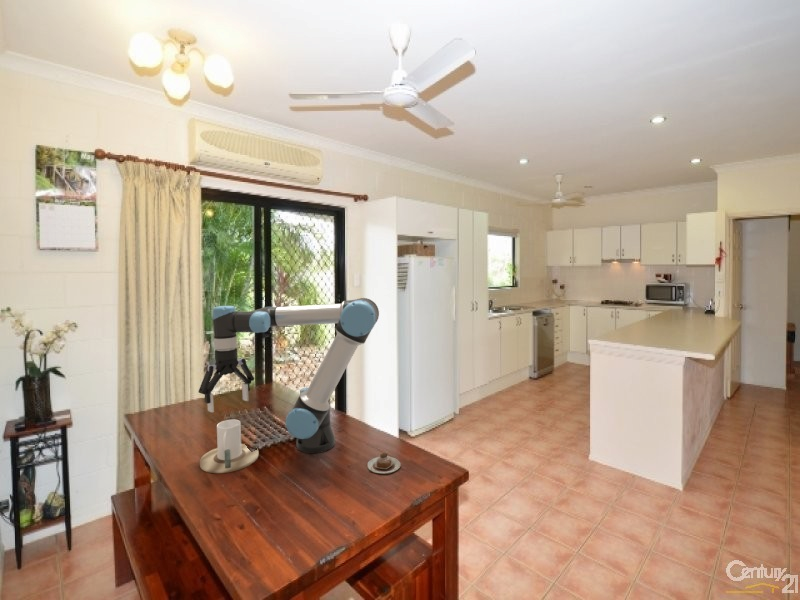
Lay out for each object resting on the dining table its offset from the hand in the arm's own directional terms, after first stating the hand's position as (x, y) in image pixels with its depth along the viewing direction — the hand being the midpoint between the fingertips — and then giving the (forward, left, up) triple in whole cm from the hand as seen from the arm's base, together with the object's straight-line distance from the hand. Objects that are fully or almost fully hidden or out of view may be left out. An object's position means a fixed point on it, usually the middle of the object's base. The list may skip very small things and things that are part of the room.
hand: (228, 405), depth 144 cm
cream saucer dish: (0, 0, -20) cm, 20 cm away
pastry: (-57, -1, -21) cm, 61 cm away
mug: (0, +1, -19) cm, 19 cm away
